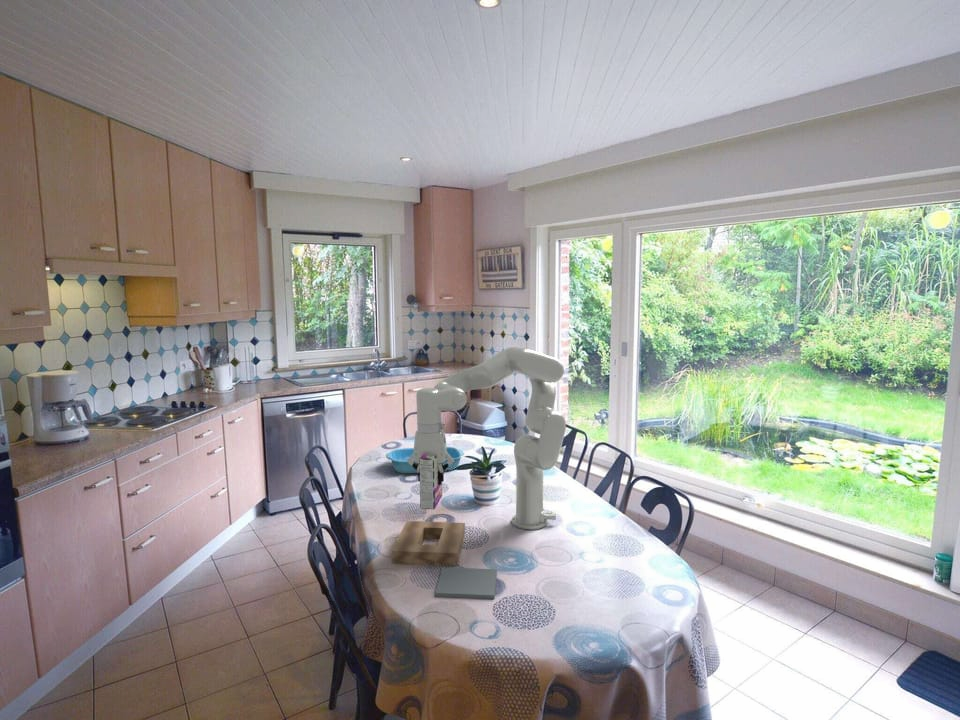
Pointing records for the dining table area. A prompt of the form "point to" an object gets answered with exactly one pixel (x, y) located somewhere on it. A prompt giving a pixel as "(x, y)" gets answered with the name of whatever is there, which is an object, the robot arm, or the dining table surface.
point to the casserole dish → (402, 466)
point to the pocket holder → (414, 552)
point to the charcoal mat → (467, 583)
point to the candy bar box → (429, 482)
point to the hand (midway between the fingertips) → (431, 482)
